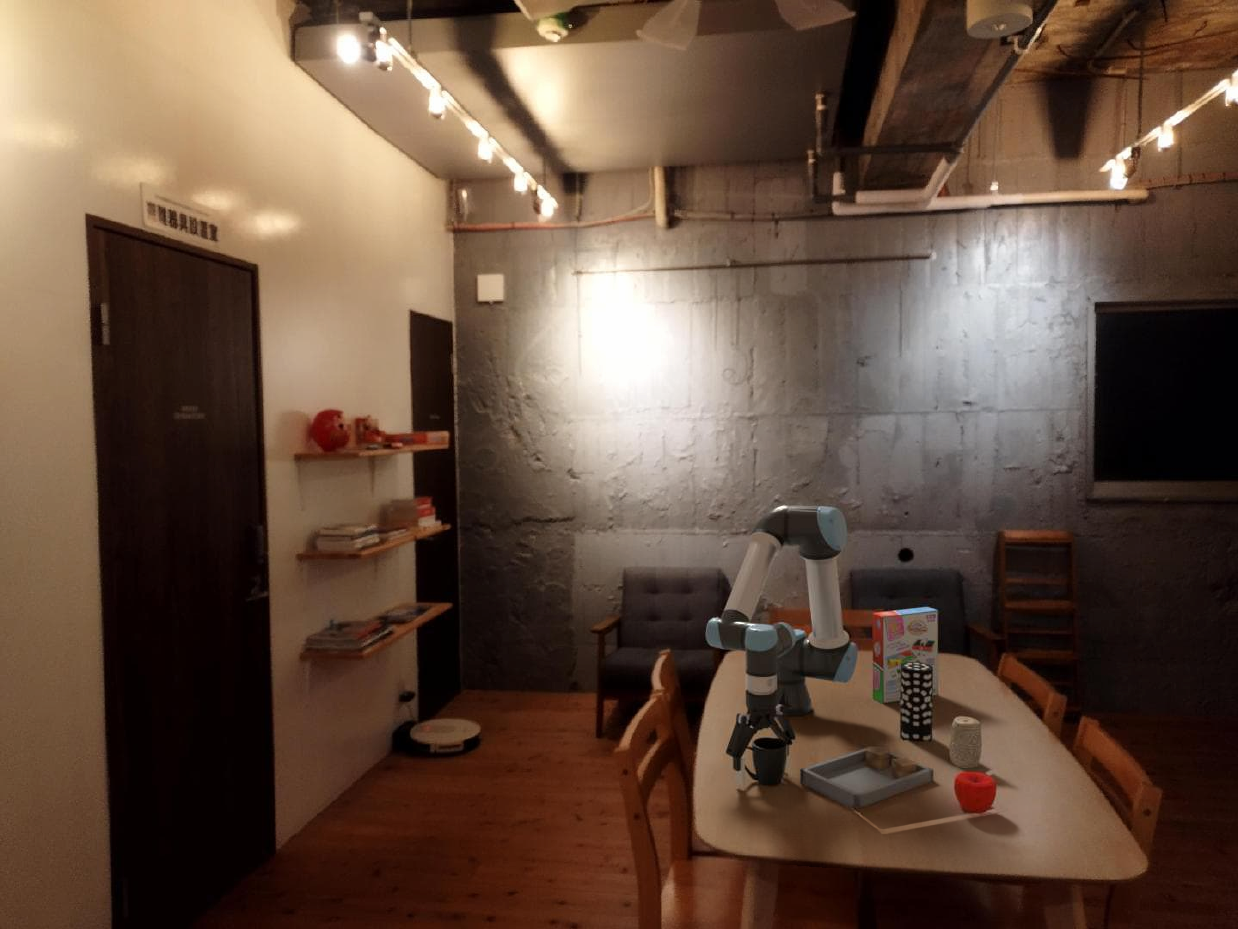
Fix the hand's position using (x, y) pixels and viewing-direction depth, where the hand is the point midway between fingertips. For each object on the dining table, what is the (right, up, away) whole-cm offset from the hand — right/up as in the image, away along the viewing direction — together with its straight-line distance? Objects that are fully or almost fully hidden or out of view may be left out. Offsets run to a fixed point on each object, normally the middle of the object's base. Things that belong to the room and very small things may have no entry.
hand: (761, 776), depth 209 cm
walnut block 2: (+34, 0, -1) cm, 34 cm away
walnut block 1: (+30, 0, +6) cm, 31 cm away
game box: (+55, +3, +59) cm, 81 cm away
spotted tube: (+46, +1, +26) cm, 53 cm away
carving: (+52, 0, +7) cm, 53 cm away
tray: (+25, -1, -2) cm, 25 cm away
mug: (0, -2, 0) cm, 2 cm away
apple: (+45, -2, -16) cm, 48 cm away
